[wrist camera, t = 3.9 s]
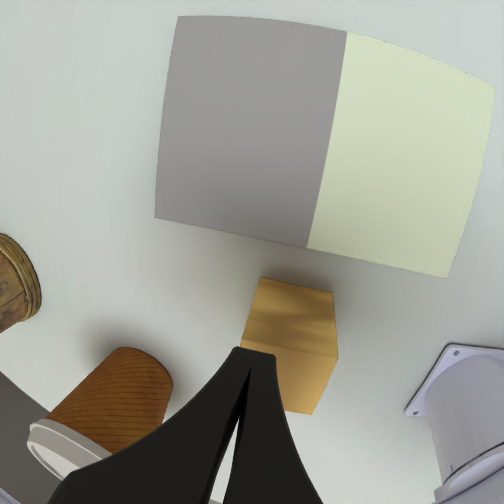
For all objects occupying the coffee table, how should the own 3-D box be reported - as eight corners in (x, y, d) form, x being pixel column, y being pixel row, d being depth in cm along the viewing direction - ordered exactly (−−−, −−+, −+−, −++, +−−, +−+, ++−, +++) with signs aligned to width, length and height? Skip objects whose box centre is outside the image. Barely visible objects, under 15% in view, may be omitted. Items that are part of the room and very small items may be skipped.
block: (332, 292, 19) (338, 358, 13) (313, 346, 21) (311, 414, 15) (260, 277, 19) (241, 339, 14) (249, 333, 21) (230, 399, 16)
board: (490, 88, 12) (495, 87, 11) (442, 273, 17) (446, 278, 16) (181, 19, 14) (177, 16, 13) (158, 214, 19) (154, 217, 18)
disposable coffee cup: (88, 317, 23) (1, 414, 13) (192, 351, 23) (127, 487, 12) (104, 388, 27) (47, 474, 17) (190, 419, 27) (148, 524, 16)
